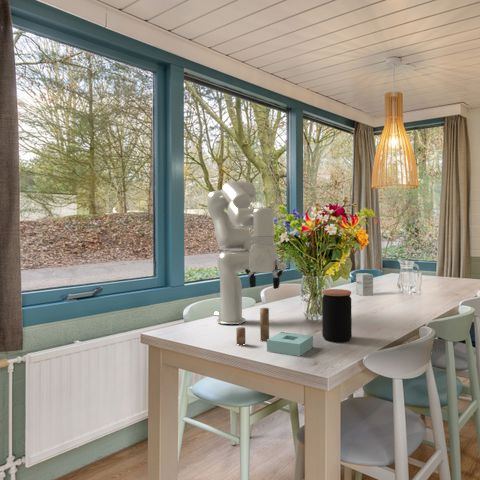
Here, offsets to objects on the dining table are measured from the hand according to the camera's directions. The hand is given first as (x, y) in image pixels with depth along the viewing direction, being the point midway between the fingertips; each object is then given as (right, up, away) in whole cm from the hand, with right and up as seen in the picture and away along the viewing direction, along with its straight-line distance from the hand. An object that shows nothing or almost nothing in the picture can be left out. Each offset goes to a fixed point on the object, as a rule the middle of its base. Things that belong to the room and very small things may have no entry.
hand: (264, 287), depth 162 cm
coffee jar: (+27, -20, +1) cm, 33 cm away
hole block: (+8, -20, -11) cm, 24 cm away
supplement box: (+65, -15, +99) cm, 120 cm away
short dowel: (-9, -20, -4) cm, 22 cm away
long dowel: (0, -20, +1) cm, 20 cm away
